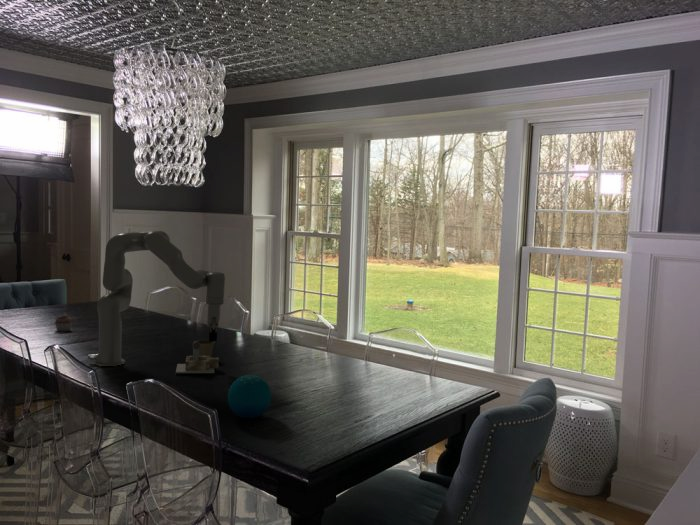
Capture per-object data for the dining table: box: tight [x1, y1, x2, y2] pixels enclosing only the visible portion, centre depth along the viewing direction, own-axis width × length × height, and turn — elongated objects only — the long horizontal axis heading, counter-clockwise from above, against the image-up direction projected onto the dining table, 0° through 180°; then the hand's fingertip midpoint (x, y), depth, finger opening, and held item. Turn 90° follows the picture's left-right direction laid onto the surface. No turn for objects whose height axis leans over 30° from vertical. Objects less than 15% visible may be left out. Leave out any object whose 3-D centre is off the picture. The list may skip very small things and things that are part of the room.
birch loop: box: [185, 355, 220, 371], centre depth 267 cm, size 14×10×4 cm
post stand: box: [175, 340, 215, 374], centre depth 266 cm, size 16×13×13 cm
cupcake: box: [54, 312, 73, 333], centre depth 332 cm, size 9×9×10 cm
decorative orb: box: [227, 374, 272, 419], centre depth 210 cm, size 15×15×15 cm
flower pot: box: [197, 339, 216, 358], centre depth 286 cm, size 9×9×9 cm
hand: (212, 338), depth 267 cm, fingers open, 9 cm apart
